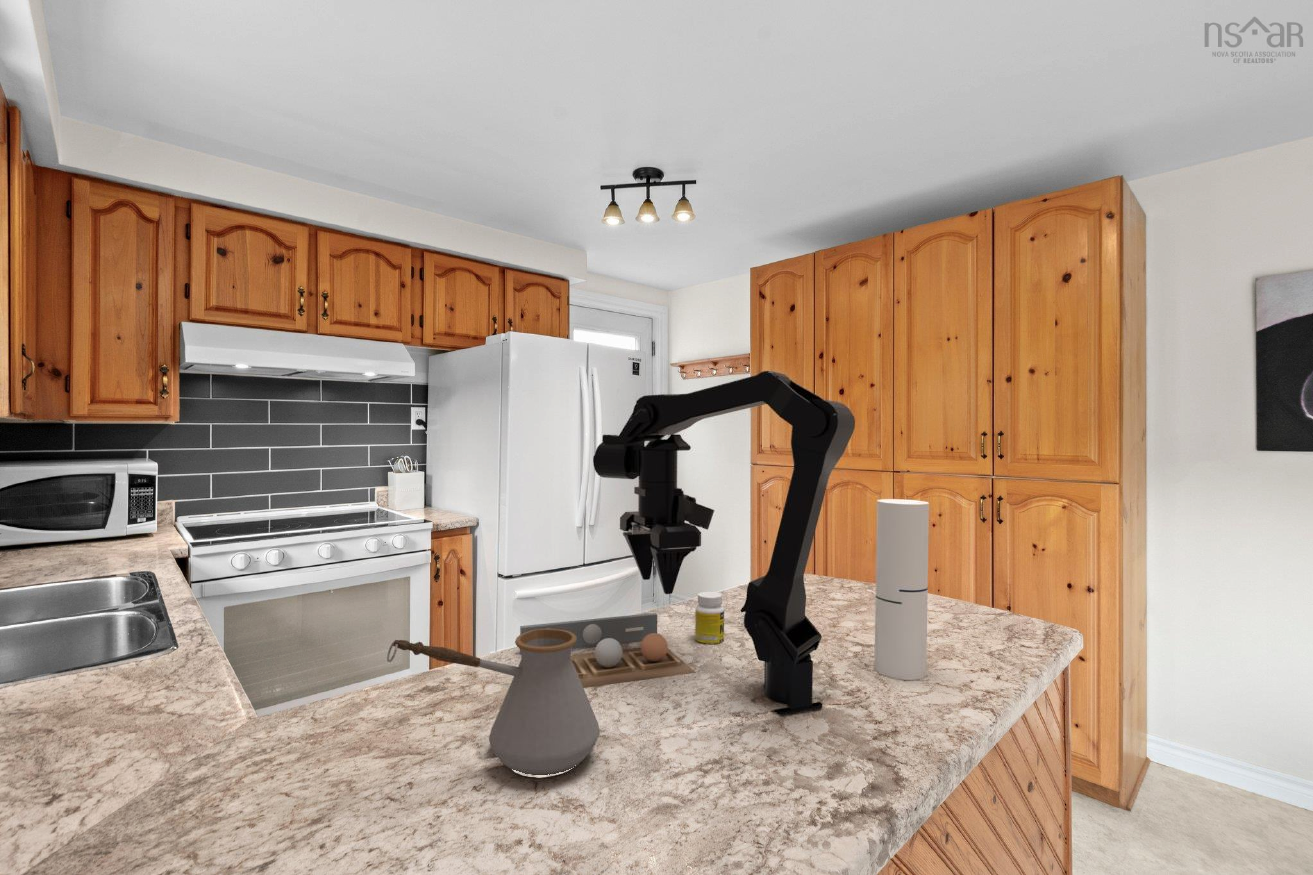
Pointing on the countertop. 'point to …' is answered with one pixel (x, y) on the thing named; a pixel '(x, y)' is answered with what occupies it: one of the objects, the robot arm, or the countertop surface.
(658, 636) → the terracotta ball
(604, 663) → the grey ball
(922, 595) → the cylindrical container
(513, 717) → the coffee pot
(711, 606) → the supplement bottle
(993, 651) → the countertop surface
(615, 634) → the card
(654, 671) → the rack
